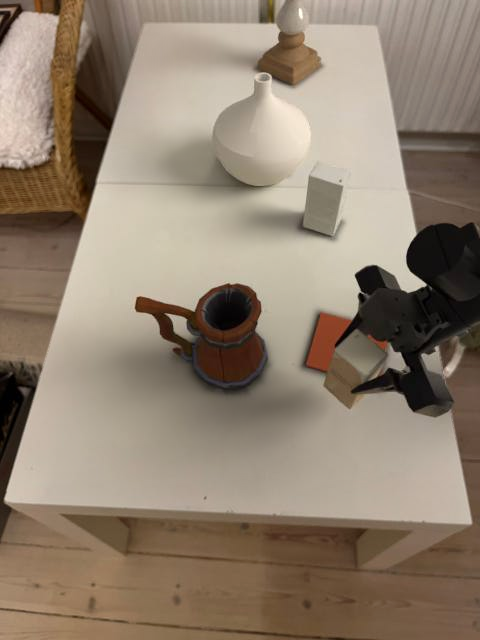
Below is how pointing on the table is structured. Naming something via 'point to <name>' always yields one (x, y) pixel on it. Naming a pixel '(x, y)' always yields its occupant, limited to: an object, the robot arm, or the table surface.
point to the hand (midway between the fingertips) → (344, 369)
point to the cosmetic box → (325, 197)
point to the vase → (261, 136)
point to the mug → (217, 334)
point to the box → (353, 367)
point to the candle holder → (290, 46)
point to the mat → (329, 341)
